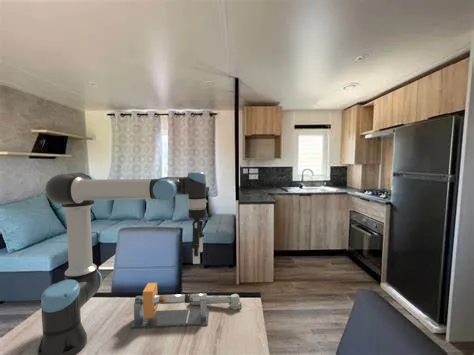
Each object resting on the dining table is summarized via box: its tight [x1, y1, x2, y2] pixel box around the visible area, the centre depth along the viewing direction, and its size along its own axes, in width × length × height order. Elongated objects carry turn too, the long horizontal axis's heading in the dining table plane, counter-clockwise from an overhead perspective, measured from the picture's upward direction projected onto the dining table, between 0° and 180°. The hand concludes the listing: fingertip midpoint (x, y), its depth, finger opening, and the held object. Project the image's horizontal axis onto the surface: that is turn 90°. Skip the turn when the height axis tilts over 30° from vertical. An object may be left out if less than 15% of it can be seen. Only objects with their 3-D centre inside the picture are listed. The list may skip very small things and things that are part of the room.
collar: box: [142, 282, 159, 318], centre depth 111 cm, size 4×8×11 cm, turn 3°
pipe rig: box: [129, 292, 210, 330], centre depth 111 cm, size 32×11×11 cm, turn 93°
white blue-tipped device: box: [189, 293, 243, 311], centre depth 122 cm, size 5×7×25 cm
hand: (198, 257), depth 109 cm, fingers open, 13 cm apart
